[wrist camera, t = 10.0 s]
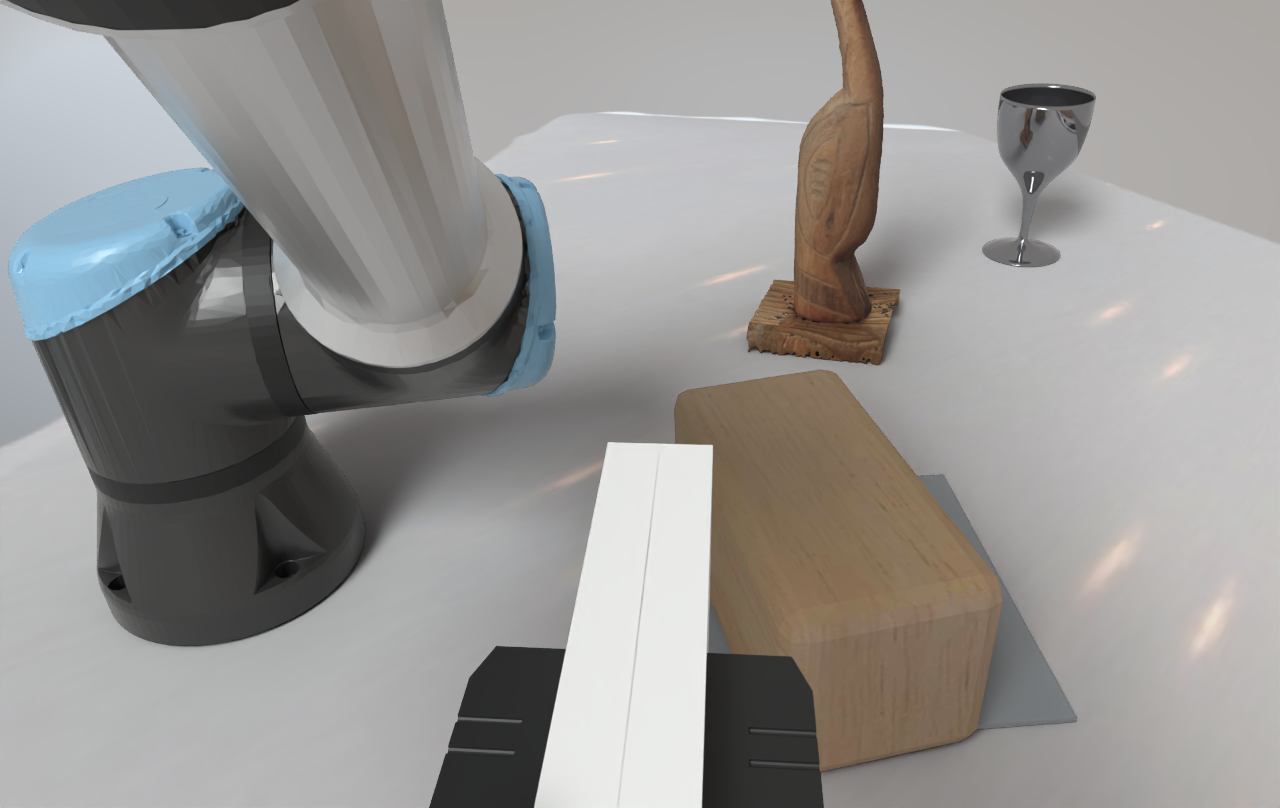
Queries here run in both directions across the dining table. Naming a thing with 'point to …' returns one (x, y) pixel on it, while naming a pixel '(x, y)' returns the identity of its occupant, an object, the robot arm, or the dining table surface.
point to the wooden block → (842, 565)
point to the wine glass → (1037, 155)
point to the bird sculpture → (835, 218)
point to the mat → (1017, 664)
